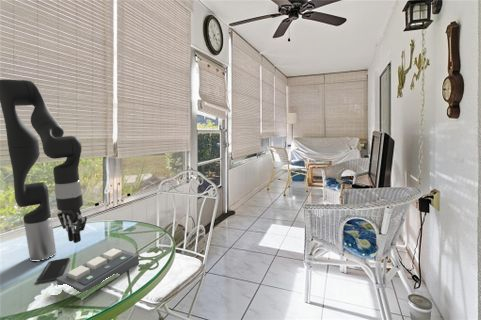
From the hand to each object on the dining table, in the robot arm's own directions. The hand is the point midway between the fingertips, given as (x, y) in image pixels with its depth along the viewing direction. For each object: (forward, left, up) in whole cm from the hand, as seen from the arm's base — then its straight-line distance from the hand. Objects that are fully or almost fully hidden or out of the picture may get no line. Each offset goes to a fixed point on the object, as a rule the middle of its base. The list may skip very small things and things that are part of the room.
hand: (74, 240), depth 91 cm
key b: (0, +7, -14) cm, 16 cm away
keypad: (+2, +7, -17) cm, 19 cm away
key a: (0, 0, -14) cm, 14 cm away
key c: (0, +14, -14) cm, 20 cm away
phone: (-18, +1, -18) cm, 25 cm away
